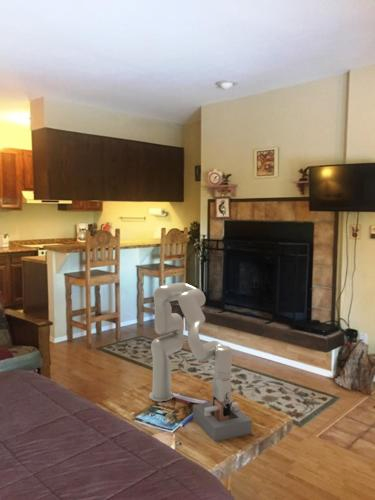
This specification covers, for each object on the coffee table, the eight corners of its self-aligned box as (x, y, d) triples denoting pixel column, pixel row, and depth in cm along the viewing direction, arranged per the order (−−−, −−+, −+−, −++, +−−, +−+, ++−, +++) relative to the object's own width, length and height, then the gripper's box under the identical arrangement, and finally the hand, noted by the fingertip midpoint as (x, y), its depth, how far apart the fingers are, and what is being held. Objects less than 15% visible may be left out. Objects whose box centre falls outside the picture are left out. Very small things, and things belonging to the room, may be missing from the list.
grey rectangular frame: (192, 417, 198) (193, 397, 197) (226, 411, 206) (227, 392, 205) (214, 441, 178) (214, 419, 177) (251, 433, 185) (252, 412, 185)
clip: (214, 420, 194) (214, 399, 193) (221, 418, 195) (222, 398, 195) (220, 426, 188) (220, 405, 187) (228, 424, 190) (228, 403, 189)
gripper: (206, 368, 196) (205, 403, 198) (224, 382, 180) (223, 421, 182) (221, 366, 199) (219, 401, 201) (239, 380, 183) (238, 418, 185)
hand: (221, 410), depth 191 cm, fingers open, 9 cm apart
